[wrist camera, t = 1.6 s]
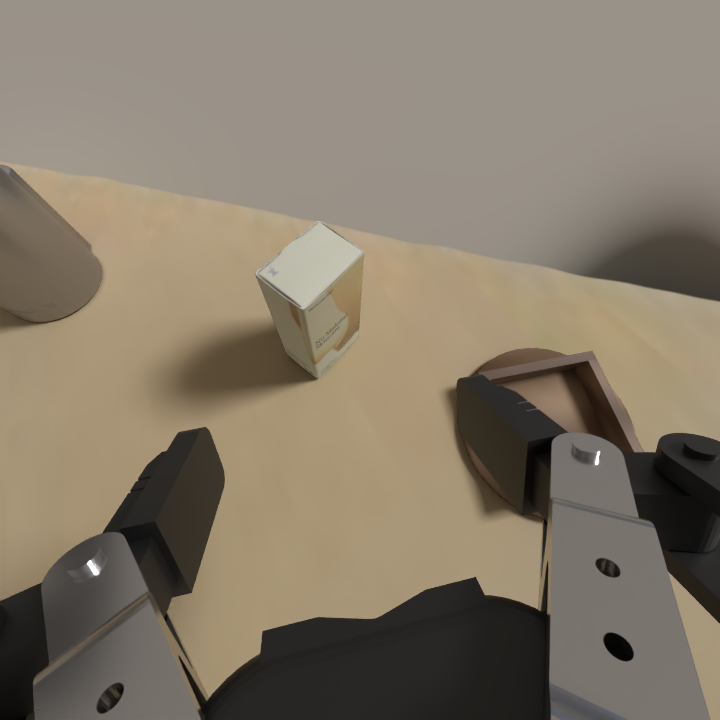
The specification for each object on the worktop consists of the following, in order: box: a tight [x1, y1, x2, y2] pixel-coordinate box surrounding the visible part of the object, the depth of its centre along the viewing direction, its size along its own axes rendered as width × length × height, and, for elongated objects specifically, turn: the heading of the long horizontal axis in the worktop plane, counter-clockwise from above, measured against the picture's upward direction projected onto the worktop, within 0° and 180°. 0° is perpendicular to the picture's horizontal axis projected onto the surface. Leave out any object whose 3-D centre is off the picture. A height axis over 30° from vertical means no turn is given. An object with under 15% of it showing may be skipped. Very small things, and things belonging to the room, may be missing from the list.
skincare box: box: [255, 221, 364, 379], centre depth 27 cm, size 6×4×12 cm
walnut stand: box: [463, 348, 644, 518], centre depth 29 cm, size 15×15×3 cm
